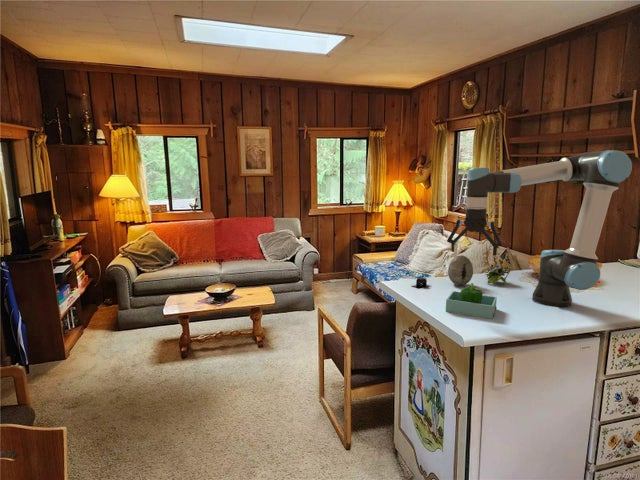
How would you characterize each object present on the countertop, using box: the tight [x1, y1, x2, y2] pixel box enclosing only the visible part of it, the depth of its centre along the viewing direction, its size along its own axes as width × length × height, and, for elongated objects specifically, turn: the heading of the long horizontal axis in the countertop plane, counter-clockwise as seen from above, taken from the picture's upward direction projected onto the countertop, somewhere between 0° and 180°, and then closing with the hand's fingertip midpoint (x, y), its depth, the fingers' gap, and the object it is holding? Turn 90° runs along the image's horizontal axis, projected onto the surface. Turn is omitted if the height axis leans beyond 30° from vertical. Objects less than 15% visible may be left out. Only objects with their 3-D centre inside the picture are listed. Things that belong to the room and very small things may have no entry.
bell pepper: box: [459, 282, 484, 304], centre depth 164 cm, size 8×8×10 cm
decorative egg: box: [447, 254, 474, 286], centre depth 204 cm, size 12×12×15 cm
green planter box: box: [445, 290, 498, 320], centre depth 165 cm, size 18×13×5 cm
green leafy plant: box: [485, 264, 511, 285], centre depth 208 cm, size 11×11×12 cm
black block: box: [410, 277, 432, 290], centre depth 203 cm, size 12×7×5 cm, turn 122°
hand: (472, 261), depth 163 cm, fingers open, 13 cm apart
